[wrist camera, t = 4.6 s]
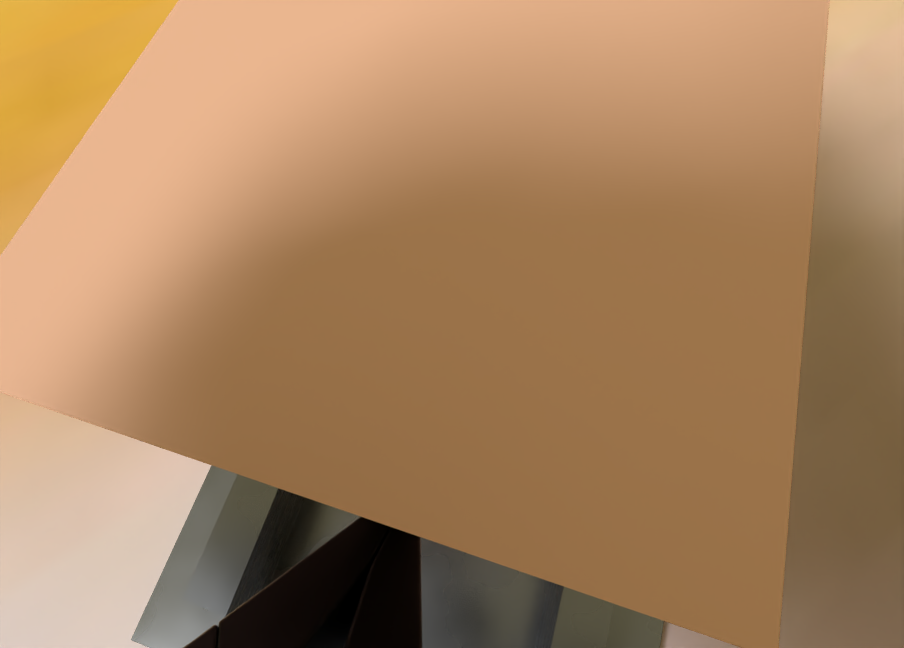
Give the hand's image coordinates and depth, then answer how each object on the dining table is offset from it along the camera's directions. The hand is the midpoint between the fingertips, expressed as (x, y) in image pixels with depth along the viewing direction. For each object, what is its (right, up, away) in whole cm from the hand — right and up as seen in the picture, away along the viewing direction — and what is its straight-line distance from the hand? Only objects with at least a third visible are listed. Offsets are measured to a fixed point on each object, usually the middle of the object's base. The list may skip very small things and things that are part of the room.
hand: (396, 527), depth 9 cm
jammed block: (+1, +1, +7) cm, 7 cm away
